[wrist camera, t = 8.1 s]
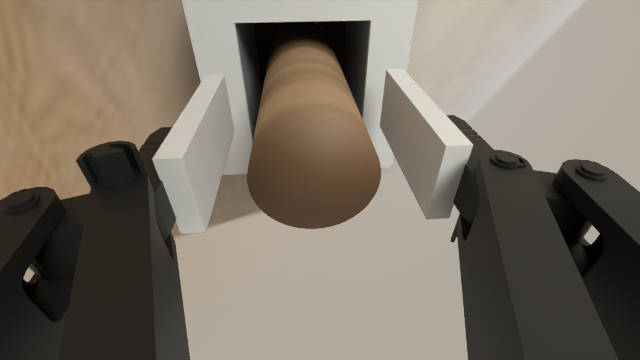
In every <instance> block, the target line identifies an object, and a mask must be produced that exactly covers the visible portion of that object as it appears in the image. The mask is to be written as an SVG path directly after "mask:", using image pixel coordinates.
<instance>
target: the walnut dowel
mask: <svg viewBox="0 0 640 360" xmlns="http://www.w3.org/2000/svg"><path fill="white" fill-rule="evenodd" d="M380 179H381V166H380V161H379V157H378V155H377V152H376V150H375V148H374V145H373V143H372V141H371V138H370V136H369V133H368V131H367V129H366V126H365V124H364V122H363V119H362V117H361V115H360V112H359V110H358V107H357V105H356V103H355V100H354V98H353V96H352V93H351V91H350V88H349V86H348V84H347V81H346V79H345V77H344V74H343V72H342V69H341V67H340V65H339V62H338V60H337V58H336V55H335V53H334V51H333V48H332V46H331V43H330V41H329V39H328V36H327V34H326V32H325V31H324V29H323V28H322V27H321V26H320V25H319V24H318V23H316V22H315V21H310V22H284V23H283V24H282V25H281V26H280V27H279V28H278V29H277V30H276V32H275V34H274V36H273V39H272V44H271V49H270V54H269V59H268V65H267V70H266V75H265V81H264V86H263V91H262V97H261V102H260V107H259V112H258V118H257V123H256V128H255V134H254V139H253V144H252V149H251V155H250V160H249V165H248V171H247V182H248V187H249V191H250V194H251V196H252V198H253V200H254V201H255V203H256V204H257V205H258V207H259V208H260V209H261V210H262V211H263V212H264V213H265V214H267V215H268V216H270V217H271V218H273V219H274V220H276V221H278V222H280V223H283V224H285V225H289V226H293V227H298V228H306V229H317V228H325V227H330V226H334V225H337V224H340V223H342V222H345V221H347V220H349V219H350V218H352V217H354V216H355V215H357V214H358V213H360V212H361V211H362V210H363V209H364V208H365V207H366V206H367V205H368V204H369V203H370V201H371V200H372V198H373V197H374V195H375V194H376V192H377V189H378V187H379V183H380Z"/></svg>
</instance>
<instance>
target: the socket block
mask: <svg viewBox="0 0 640 360" xmlns="http://www.w3.org/2000/svg"><path fill="white" fill-rule="evenodd" d="M182 4H183V8H184V13H185V17H186V21H187V25H188V30H189V34H190V38H191V43H192V47H193V51H194V55H195V60H196V64H197V68H198V73H199V77H200V81H201V82H202V81H203V79H204V77H205V76H206V75H222V74H224V76H225V81H226V86H227V92H228V97H229V103H230V108H231V113H232V119H233V124H234V130H235V133H234V137H233V140H232V144H231V147H230V151H229V154H228V157H227V161H226V164H225V168H224V171H223V175H237V174H247V171H248V165H249V160H250V155H251V149H252V144H253V139H254V134H255V128H256V123H257V118H258V112H259V107H260V102H261V97H262V91H261V82H260V74H259V66H258V57H257V49H256V40H255V32H254V23H259V22H310V21H346V34H345V58H344V77H345V79H346V81H347V84H348V86H349V88H350V91H351V93H352V96H353V98H354V100H355V103H356V105H357V107H358V110H359V112H360V115H361V117H362V119H363V122H364V124H365V126H366V129H367V131H368V133H369V136H370V138H371V141H372V143H373V145H374V148H375V150H376V152H377V155H378V157H379V161H380V166H381V167H392V162H393V156H394V154H393V152H392V150H391V148H390V146H389V144H388V142H387V140H386V138H385V136H384V134H383V132H382V130H381V128H380V118H381V109H382V101H383V93H384V84H385V76H386V70H392V69H404V71H405V72H406V73H407V68H408V61H409V55H410V49H411V43H412V36H413V30H414V24H415V18H416V11H417V5H418V0H182Z"/></svg>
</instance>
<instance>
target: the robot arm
mask: <svg viewBox="0 0 640 360" xmlns="http://www.w3.org/2000/svg"><path fill="white" fill-rule="evenodd" d="M380 128H381V130H382V132H383V134H384V136H385V138H386V140H387V142H388V144H389V146H390V148H391V150H392V152H393V154H394V156H395V158H396V160H397V162H398V164H399V166H400V168H401V170H402V172H403V174H404V176H405V177H406V180H407V182H408V184H409V186H410V188H411V190H412V191H413V193H414V196H415V198H416V200H417V202H418V204H419V206H420V207H421V210H422V211H423V213H424V215H425V218H426V219H440V218H449V217H450V214H451V210H452V208H453V205H454V204H455V206H456V207H457V209H458V211H459V212H460V215H459V217H458V220H457V223H456V226H455V229H454V231H453V234H452V237H451V242H454V241H455V238H456V237H458V248H459V259H460V271H461V282H462V293H463V305H464V317H465V328H466V339H467V351H468V360H640V192H639V191H637V190H636V189H635V188H634V187H633V186H631V185H630V184H629V183H628V182H626V181H625V180H624V179H623V178H622V177H620V176H619V175H618V174H617V173H615V172H614V171H612V170H610V169H609V168H607V167H604V166H602V165H601V164H599V163H596V162H591V161H589V160H576V159H575V160H567V161H565V162H563V164H562V165H561V167H560V169H559V171H558V173H550V172H542V171H535V170H533V169H532V167H531V165H530V164H529V162H528V161H527V160H525V159H524V158H522V157H521V156H519V155H516V154H514V153H511V152H507V151H502V150H494V149H493V148H491V147H490V146H489V145H488V143H486V141H485V140H483V139H482V138H481V137H480V136H479V135H478V134H477V133H476V132H475V131H474V130H472V128H471V127H470V126H469V125H468V124H467V123H466V122H465V121H464V120H462V119H460V118H458V117H456V116H454V115H445V114H444V113H443V112H442V110H441V109H440V108H439V107H438V106H437V105H436V104H435V103H434V102H433V101H432V100H431V99H430V97H429V96H428V95H427V94H426V93H425V92H424V91H423V90H422V89H421V88H420V87H419V86H418V85H417V83H416V82H415V81H414V80H413V79H412V78H411V77H410V76H409V75H408V74H407V73H406V72H405V71H404V69H392V70H386V76H385V84H384V93H383V101H382V109H381V118H380ZM234 133H235V130H234V124H233V119H232V113H231V108H230V103H229V97H228V92H227V86H226V81H225V76H224V74H222V75H206V76H205V77H204V79H203V81H202V82H201V84H200V85H199V87H198V88H197V90H196V91H195V93H194V95H193V96H192V98H191V99H190V101H189V102H188V104H187V106H186V107H185V109H184V110H183V112H182V113H181V115H180V116H179V118H178V120H177V121H176V123H175V124H174V126H173V127H164V128H160V129H158V130H157V131H155V132H154V133H152V134H151V135H150V136H149V137H148V138H147V140H146V141H145V143H144V144H143V145H142V147H141V148H140V149H139V150H140V151H138V150H137V147H136V146H135V144H133V143H131V142H126V141H115V142H108V143H104V144H100V145H97V146H95V147H93V148H90V149H88V150H86V151H85V152H84V153H82V154H81V155H80V156H79V157H78V159H77V160H76V161H77V163H78V165H79V167H80V169H81V170H82V172H83V174H84V176H85V178H86V179H87V181H88V183H89V185H90V187H91V191H90V193H89V194H85V195H81V196H76V197H72V198H68V199H63V200H60V199H59V197H58V196H57V194H56V193H55V191H54V189H51V188H48V187H35V188H30V189H23V190H20V191H19V192H14V193H12V194H10V195H9V196H7V197H5V198H4V199H2V200H0V360H190V356H189V349H188V348H189V347H188V340H187V332H186V325H185V316H184V309H183V301H182V293H181V285H180V277H179V269H178V261H177V253H176V245H175V241H174V238H173V236H172V233H171V231H172V228H173V226H174V223H175V221H176V223H177V226H178V228H179V231H180V234H188V233H204V232H206V230H207V226H208V223H209V220H210V216H211V213H212V209H213V206H214V202H215V199H216V195H217V192H218V189H219V185H220V182H221V178H222V175H223V171H224V168H225V164H226V161H227V157H228V154H229V151H230V147H231V144H232V140H233V137H234ZM592 225H593V226H594V227H595V228H596V229H597V230H598V232H599V233H600V235H599V236H598V237H597V239H596V240H595V241H594V243H592V244H591V245H590V244H589V243H588V242H587V241H586V240H585V239H584V235H585V234H586V233H587V231H588V230H589V229H590V227H591V226H592ZM28 267H30V268H31V269H32V270H33V272H34V273H35V274H34V275H33V277H32V278H31V280H30V281H29V282H26V281H25V280H24V279H23V277H24V275H25V272H26V270H27V269H28Z"/></svg>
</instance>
